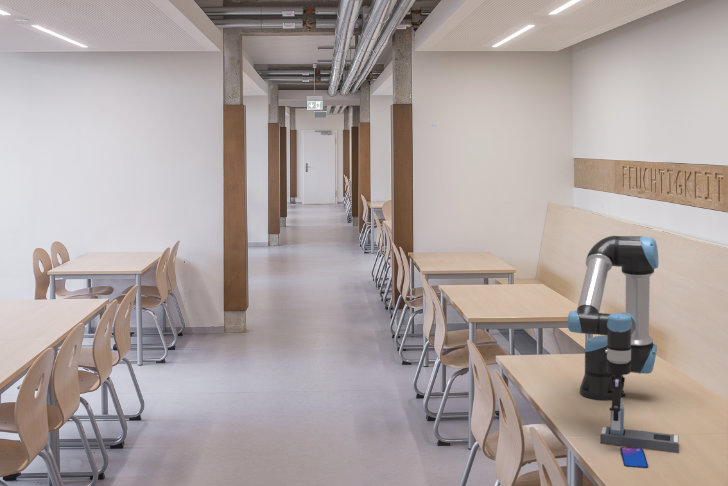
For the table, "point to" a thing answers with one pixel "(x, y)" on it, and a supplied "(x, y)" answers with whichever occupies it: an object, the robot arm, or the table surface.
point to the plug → (621, 431)
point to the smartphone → (633, 457)
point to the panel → (641, 440)
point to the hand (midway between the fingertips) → (617, 422)
